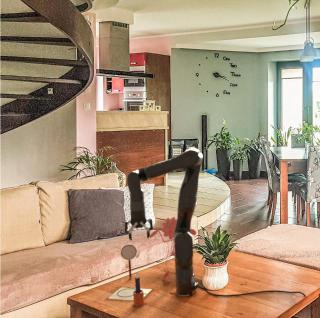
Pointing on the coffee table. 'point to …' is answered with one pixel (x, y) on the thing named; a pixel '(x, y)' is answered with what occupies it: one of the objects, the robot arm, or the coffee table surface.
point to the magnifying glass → (129, 255)
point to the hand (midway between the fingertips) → (139, 239)
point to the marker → (137, 284)
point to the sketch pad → (127, 293)
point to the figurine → (169, 231)
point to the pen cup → (138, 298)
